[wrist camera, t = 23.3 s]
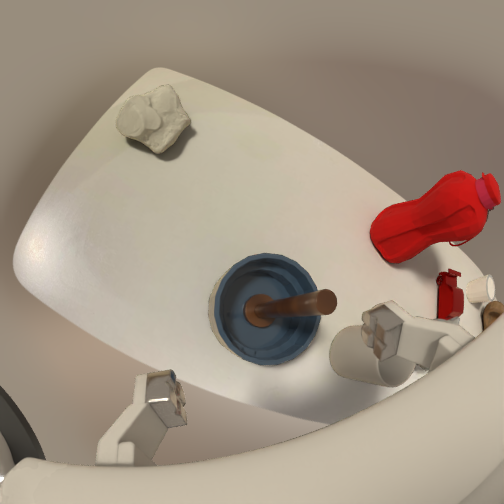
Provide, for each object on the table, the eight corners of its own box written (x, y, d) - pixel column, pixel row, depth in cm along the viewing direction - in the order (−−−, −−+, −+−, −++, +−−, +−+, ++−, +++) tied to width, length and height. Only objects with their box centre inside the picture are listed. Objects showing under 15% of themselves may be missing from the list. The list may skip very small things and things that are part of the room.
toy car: (435, 271, 49) (452, 267, 45) (447, 275, 51) (463, 271, 46) (433, 336, 45) (451, 335, 41) (446, 336, 47) (463, 335, 42)
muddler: (261, 333, 36) (331, 341, 20) (236, 313, 35) (290, 307, 19) (280, 308, 37) (357, 296, 21) (256, 287, 37) (321, 262, 21)
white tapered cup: (472, 310, 52) (493, 306, 45) (463, 295, 52) (485, 291, 45) (477, 289, 54) (496, 284, 48) (468, 274, 54) (488, 268, 47)
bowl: (473, 343, 48) (505, 329, 40) (472, 299, 56) (499, 285, 48) (492, 364, 50) (518, 354, 42) (491, 325, 58) (515, 314, 50)
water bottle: (395, 278, 45) (513, 244, 22) (361, 233, 45) (478, 173, 22) (413, 247, 49) (514, 207, 25) (382, 205, 48) (482, 146, 25)
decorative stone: (164, 162, 36) (125, 112, 28) (133, 157, 41) (99, 117, 32) (207, 115, 39) (179, 65, 31) (172, 115, 44) (145, 74, 35)
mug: (362, 380, 39) (410, 390, 28) (322, 373, 37) (368, 385, 27) (379, 312, 42) (427, 306, 32) (341, 298, 41) (389, 289, 31)
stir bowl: (263, 376, 35) (279, 385, 29) (187, 316, 34) (189, 316, 28) (315, 303, 39) (338, 300, 34) (249, 244, 39) (262, 231, 33)
